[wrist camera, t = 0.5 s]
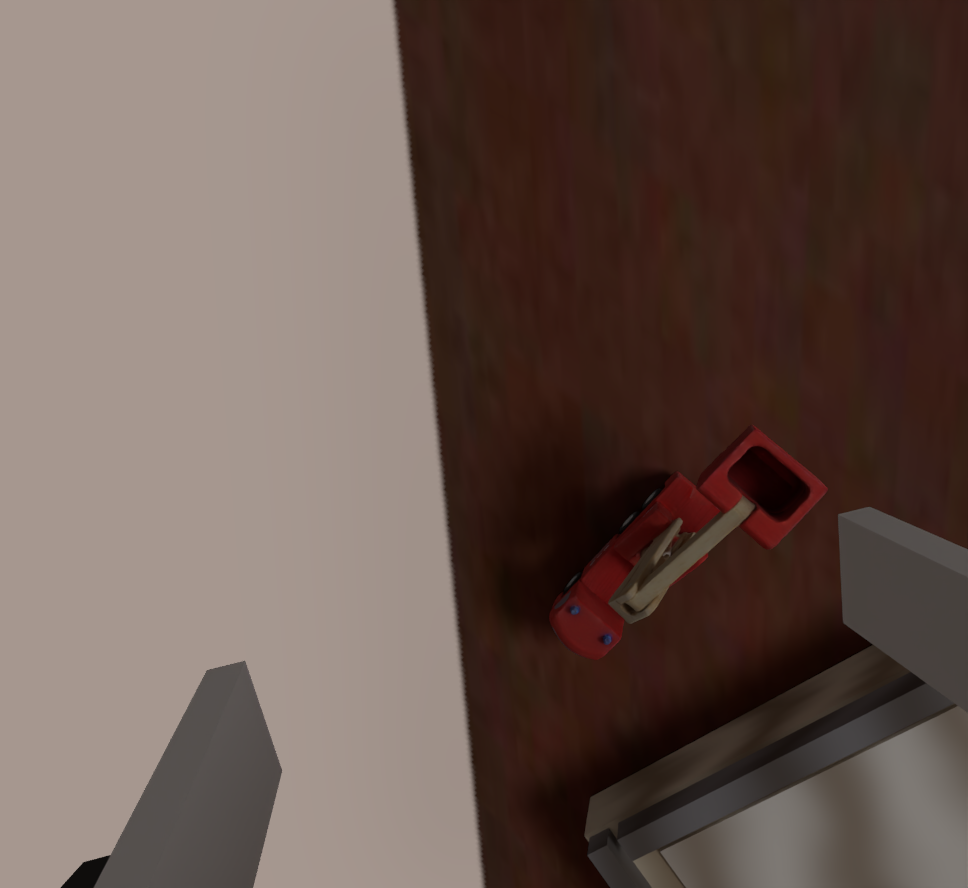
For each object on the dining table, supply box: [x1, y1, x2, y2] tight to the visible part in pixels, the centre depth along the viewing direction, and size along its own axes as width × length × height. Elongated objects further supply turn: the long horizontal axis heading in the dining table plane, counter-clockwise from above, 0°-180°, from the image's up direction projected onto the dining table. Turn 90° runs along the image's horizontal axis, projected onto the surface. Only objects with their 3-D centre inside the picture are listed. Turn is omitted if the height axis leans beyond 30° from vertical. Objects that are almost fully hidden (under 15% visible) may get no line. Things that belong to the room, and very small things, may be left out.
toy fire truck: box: [549, 425, 828, 660], centre depth 27 cm, size 3×14×10 cm, turn 140°
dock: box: [584, 645, 968, 888], centre depth 28 cm, size 20×12×4 cm, turn 128°
